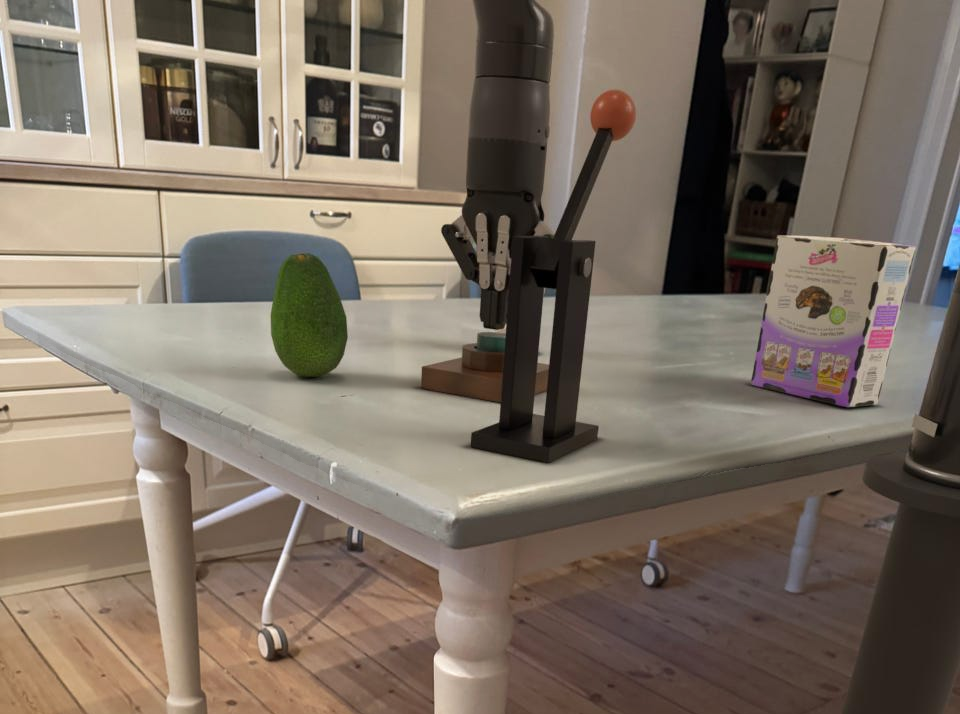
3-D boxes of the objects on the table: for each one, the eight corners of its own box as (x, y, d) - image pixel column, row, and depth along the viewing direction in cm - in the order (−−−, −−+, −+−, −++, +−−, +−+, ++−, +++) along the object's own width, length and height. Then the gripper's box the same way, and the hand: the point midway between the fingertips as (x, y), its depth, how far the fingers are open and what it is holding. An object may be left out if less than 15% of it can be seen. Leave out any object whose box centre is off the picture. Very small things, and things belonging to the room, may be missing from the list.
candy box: (879, 406, 103) (920, 244, 95) (847, 410, 99) (886, 243, 92) (779, 381, 112) (809, 234, 105) (747, 384, 109) (775, 232, 102)
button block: (557, 386, 101) (561, 348, 99) (506, 403, 91) (510, 361, 89) (477, 373, 105) (479, 336, 103) (420, 388, 95) (422, 347, 93)
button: (516, 352, 97) (518, 335, 96) (500, 356, 94) (502, 338, 93) (486, 348, 98) (487, 330, 98) (470, 351, 96) (471, 334, 95)
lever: (604, 114, 77) (595, 78, 73) (645, 116, 75) (637, 78, 72) (531, 291, 74) (518, 261, 70) (573, 296, 72) (561, 265, 69)
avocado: (259, 372, 97) (254, 248, 92) (326, 368, 101) (325, 250, 96) (292, 387, 91) (289, 256, 86) (362, 382, 96) (363, 257, 90)
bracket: (525, 425, 83) (541, 233, 76) (597, 439, 80) (621, 241, 73) (470, 447, 75) (483, 235, 68) (548, 463, 72) (569, 243, 65)
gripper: (427, 130, 87) (420, 323, 95) (554, 137, 82) (536, 340, 89) (466, 137, 93) (457, 317, 101) (587, 143, 88) (567, 333, 95)
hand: (494, 328), depth 95 cm, fingers closed
